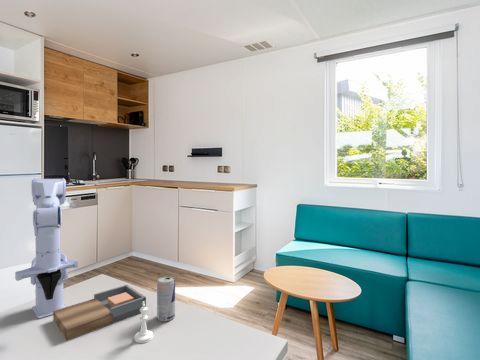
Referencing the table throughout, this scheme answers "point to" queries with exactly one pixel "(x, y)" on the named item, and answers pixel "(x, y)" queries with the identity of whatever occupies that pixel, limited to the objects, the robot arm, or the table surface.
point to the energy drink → (166, 298)
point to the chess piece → (143, 327)
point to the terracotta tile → (119, 299)
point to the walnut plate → (82, 318)
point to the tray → (123, 309)
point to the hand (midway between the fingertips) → (49, 298)
